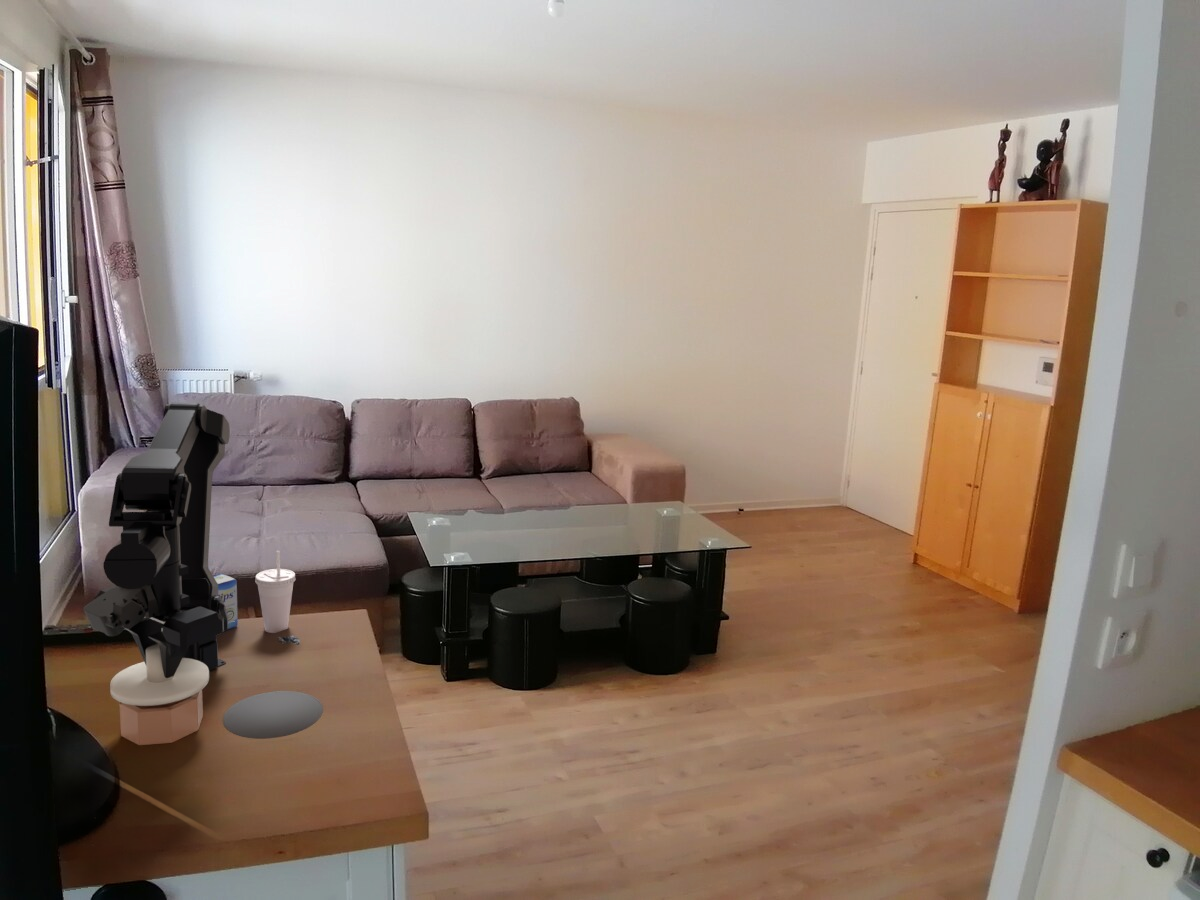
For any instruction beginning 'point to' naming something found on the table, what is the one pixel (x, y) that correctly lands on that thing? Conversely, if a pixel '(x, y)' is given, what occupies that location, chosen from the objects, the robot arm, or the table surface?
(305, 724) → the mat
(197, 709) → the bowl
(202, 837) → the table surface
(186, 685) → the lid
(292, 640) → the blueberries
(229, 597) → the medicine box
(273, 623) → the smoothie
